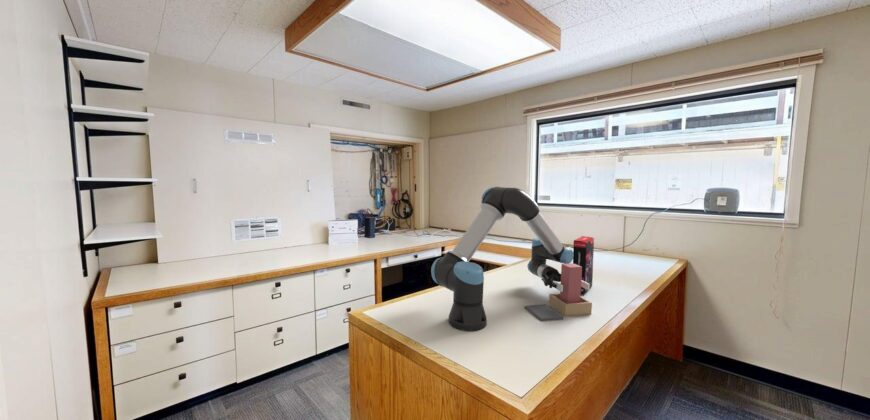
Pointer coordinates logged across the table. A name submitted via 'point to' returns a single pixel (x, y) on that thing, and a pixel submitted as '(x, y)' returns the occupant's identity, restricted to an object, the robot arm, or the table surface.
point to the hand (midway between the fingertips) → (575, 287)
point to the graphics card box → (584, 258)
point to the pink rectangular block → (571, 283)
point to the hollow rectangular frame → (570, 306)
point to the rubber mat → (543, 312)
